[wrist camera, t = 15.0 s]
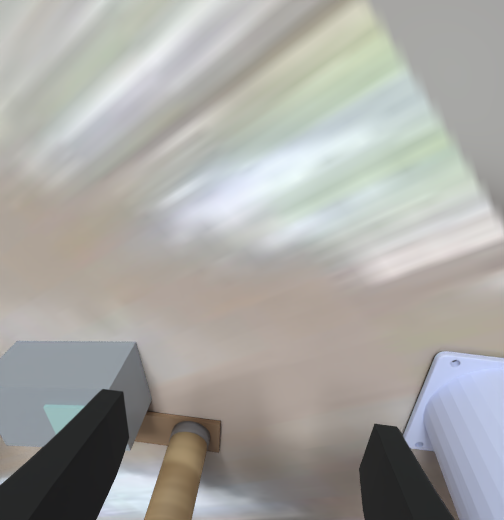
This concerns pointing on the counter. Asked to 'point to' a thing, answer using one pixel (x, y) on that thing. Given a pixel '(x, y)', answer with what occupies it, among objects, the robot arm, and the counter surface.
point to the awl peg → (180, 473)
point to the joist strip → (161, 425)
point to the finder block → (66, 386)
